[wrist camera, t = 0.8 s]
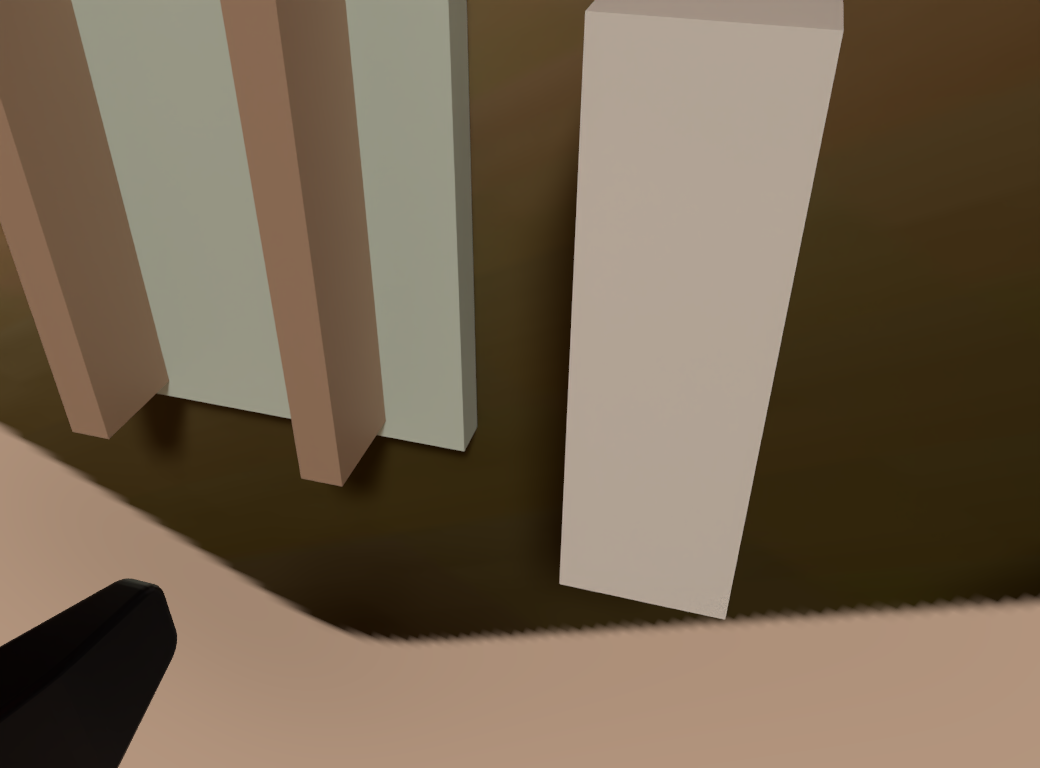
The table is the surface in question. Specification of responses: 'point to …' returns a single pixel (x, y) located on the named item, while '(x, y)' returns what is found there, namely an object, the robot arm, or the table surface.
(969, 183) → the table surface
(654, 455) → the grey rectangular block
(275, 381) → the slotted stand
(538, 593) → the table surface
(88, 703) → the robot arm
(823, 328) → the table surface
